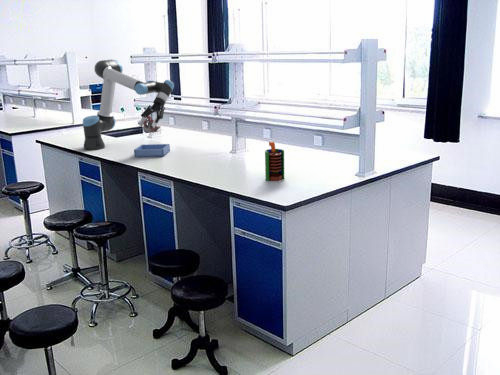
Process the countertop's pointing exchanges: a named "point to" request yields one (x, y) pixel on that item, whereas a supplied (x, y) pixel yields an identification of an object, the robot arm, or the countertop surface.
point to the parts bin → (152, 150)
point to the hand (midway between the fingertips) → (146, 126)
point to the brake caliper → (149, 126)
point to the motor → (274, 163)
